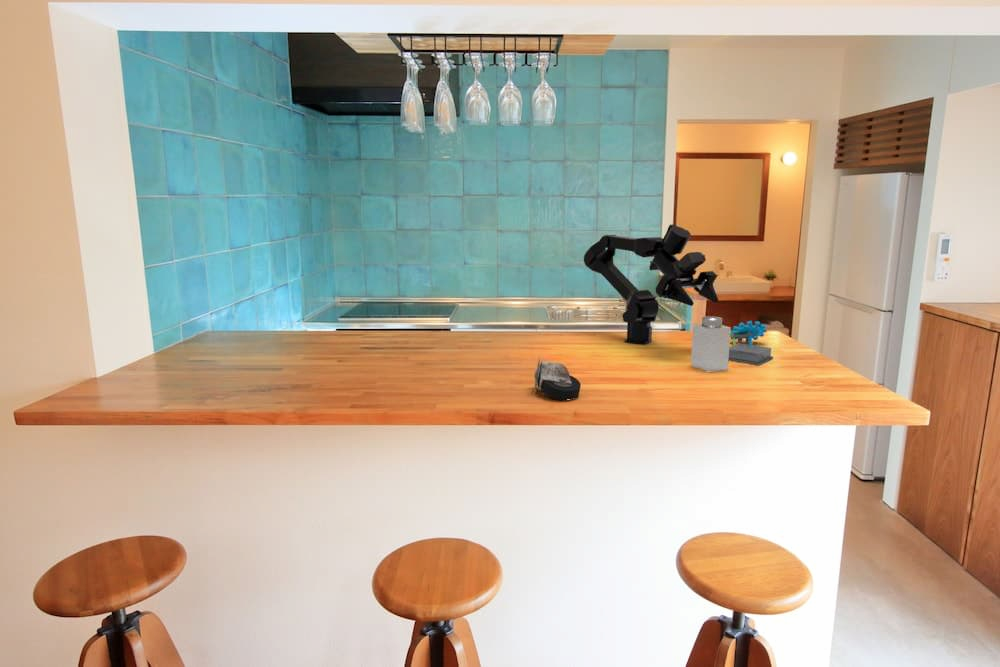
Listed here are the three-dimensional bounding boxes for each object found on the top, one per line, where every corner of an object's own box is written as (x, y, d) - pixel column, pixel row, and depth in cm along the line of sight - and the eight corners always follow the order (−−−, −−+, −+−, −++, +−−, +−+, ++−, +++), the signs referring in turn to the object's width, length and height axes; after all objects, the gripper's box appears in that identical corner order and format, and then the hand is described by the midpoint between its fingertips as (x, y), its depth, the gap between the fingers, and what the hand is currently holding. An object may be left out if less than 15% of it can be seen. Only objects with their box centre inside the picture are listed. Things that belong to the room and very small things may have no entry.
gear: (764, 336, 195) (767, 317, 187) (768, 352, 191) (770, 334, 184) (726, 339, 198) (727, 321, 190) (728, 355, 194) (729, 337, 186)
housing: (690, 365, 167) (693, 316, 164) (710, 363, 169) (713, 315, 166) (707, 372, 160) (711, 321, 158) (727, 370, 162) (731, 319, 159)
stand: (721, 359, 173) (722, 348, 172) (736, 353, 180) (737, 342, 180) (758, 365, 166) (759, 354, 166) (773, 358, 174) (773, 347, 173)
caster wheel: (578, 411, 138) (532, 404, 138) (575, 386, 149) (532, 380, 148) (584, 384, 136) (537, 377, 135) (580, 361, 146) (537, 354, 146)
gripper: (658, 245, 171) (693, 281, 161) (708, 242, 180) (744, 277, 170) (641, 278, 178) (674, 315, 168) (690, 274, 187) (724, 308, 177)
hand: (705, 303), depth 171 cm, fingers open, 9 cm apart
